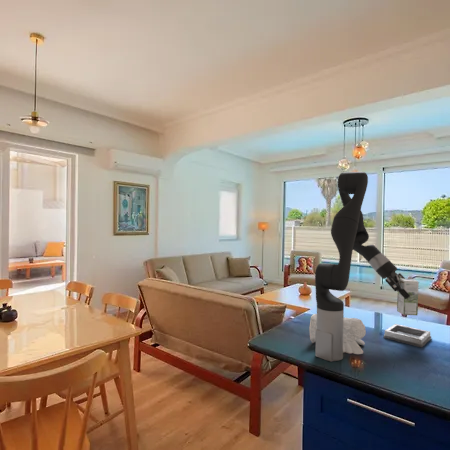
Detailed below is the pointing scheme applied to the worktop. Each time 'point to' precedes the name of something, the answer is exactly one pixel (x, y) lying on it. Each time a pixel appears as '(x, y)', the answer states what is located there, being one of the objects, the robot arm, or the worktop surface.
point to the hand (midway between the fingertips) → (411, 296)
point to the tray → (408, 335)
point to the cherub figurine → (345, 334)
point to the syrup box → (411, 303)
